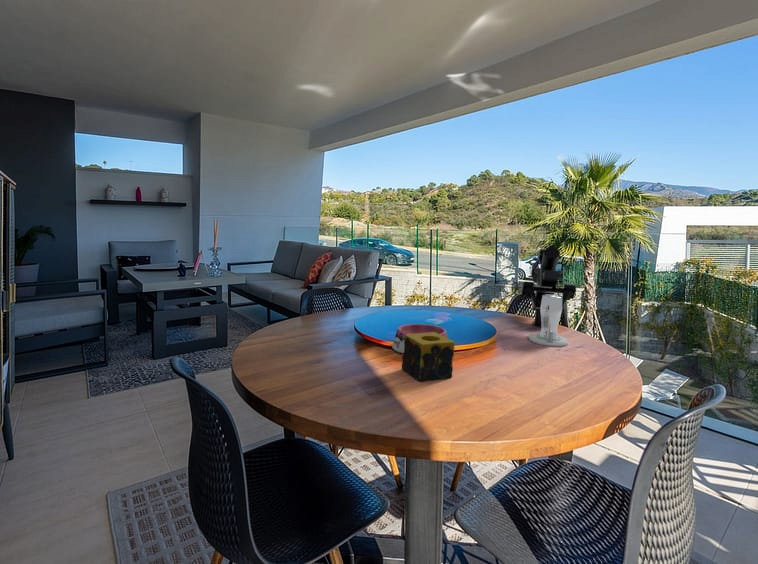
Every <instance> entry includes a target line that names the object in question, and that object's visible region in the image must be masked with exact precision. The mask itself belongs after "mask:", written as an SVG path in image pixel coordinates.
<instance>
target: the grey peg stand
mask: <svg viewBox="0 0 758 564" xmlns="http://www.w3.org/2000/svg"><path fill="white" fill-rule="evenodd" d="M553 333H554V332H551V331H549V332H548V339H544V338H541V337H540V336H539V334H540V332H535V333H533V332H532V333H529V335H528V340H529V341H530V342H531V343H534V344H538V345H542V346H546V347H559V348H560V347H566V346H568V345H569V339H568V338H566V337H564V336H561V335H558V338H557V339H554V340H553Z"/></svg>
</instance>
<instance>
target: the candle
mask: <svg viewBox="0 0 758 564" xmlns="http://www.w3.org/2000/svg"><path fill="white" fill-rule="evenodd" d="M455 344H456V343H455V341H454V340H452V339H450V338H449V337H448V338H446V337H444V336H442V335H440V334H438V333H436V332H430V333H414V334H404V353H403V355H402V361H401V362H402V363H401V370H403V371H404V372H405V373H407V374H408V375H409V376H411V377H412V378H414V379H415V380H416V381H417V382H421V383H422V382H430V381H437V380H438V381H439V380H444V379H452V378H453V370H454V369H453V361H454V353H455Z"/></svg>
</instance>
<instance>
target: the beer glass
mask: <svg viewBox="0 0 758 564" xmlns="http://www.w3.org/2000/svg"><path fill="white" fill-rule="evenodd" d="M540 311H541V326H540V332H539V333H540V334H539V336H540V337H541V338H544V339H548V332H549V331H551V332H554V333H553V340H554V339H557V338H558V336H559V335H558V327H559V322H560V319H561V316H562V312H563V309H562V295H560V294H559V295H558V294H554V295H553V294H543V295H542V301H541V309H540Z"/></svg>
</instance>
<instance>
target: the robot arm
mask: <svg viewBox="0 0 758 564" xmlns="http://www.w3.org/2000/svg"><path fill="white" fill-rule="evenodd" d="M561 259H562V256H561V252H560V250H559V249H558V248H556V247H555V245H548V247H546V248H540V249H539V251H538V252H537V257H536V261H534V262H533V264H532V265H531V270H530V272H531V273H530V278H532V279H531V280H532V281H527V280H526V281H523V282H522V287H521V295H522V296H525V298H528V299H529V300H530V302H531V309H532V311H535V313H534V321H532V325H533V326H536V327H541V311H540V309H541V301H542V295H543V294H553V295H555V294H561V296H562V310H563V309H564V306H565V303H566V302H567V301H570V300H572V299H575V296H576V291H577V286H576V285H575V284H564V285H563V287H557V286H558V283H559V280H563V279H564V270H561V269H557V266H558V263H559V261H560V260H561ZM539 265H540V267H539ZM535 284H536V285H535Z"/></svg>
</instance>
